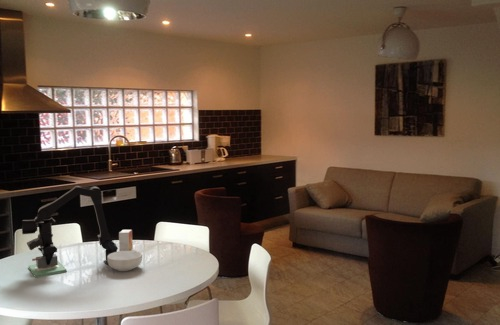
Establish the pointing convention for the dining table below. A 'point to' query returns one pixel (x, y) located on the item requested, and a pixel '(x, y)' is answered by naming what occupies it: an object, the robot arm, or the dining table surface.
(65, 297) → the dining table surface
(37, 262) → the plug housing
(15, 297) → the dining table surface
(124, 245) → the small box
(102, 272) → the dining table surface
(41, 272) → the pin board
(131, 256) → the cereal bowl
